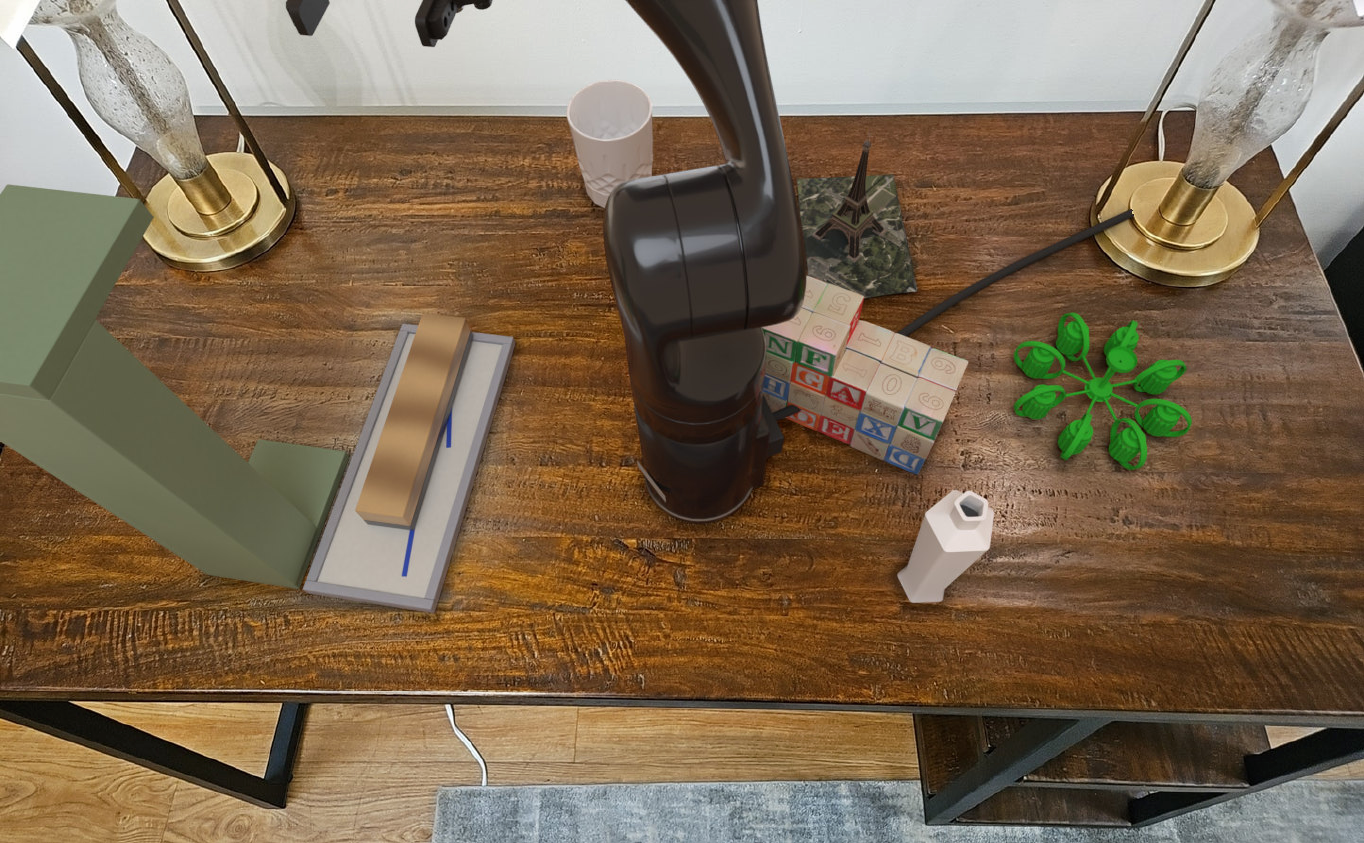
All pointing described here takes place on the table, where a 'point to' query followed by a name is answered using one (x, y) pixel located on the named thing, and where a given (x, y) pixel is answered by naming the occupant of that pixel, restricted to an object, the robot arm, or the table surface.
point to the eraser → (415, 423)
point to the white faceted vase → (947, 545)
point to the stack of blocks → (859, 378)
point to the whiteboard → (419, 559)
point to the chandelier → (1102, 390)
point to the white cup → (611, 135)
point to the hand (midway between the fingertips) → (361, 30)
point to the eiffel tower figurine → (856, 232)
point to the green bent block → (136, 404)
